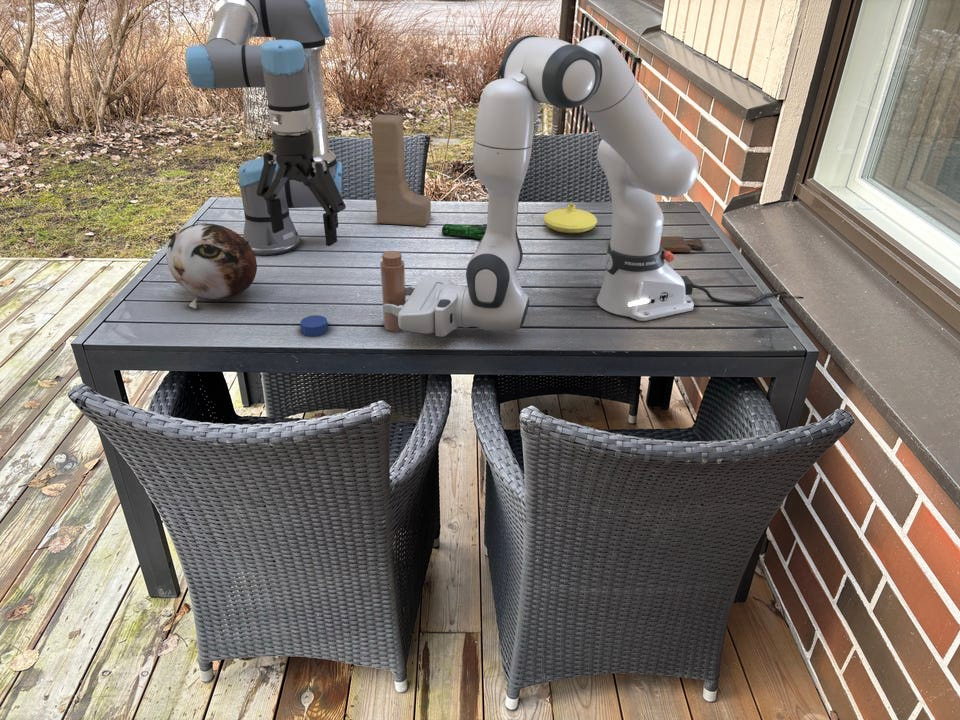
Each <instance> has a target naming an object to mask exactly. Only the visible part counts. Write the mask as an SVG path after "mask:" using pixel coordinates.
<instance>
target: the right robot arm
mask: <svg viewBox="0 0 960 720" xmlns="http://www.w3.org/2000/svg"><path fill="white" fill-rule="evenodd" d="M496 76H497V77H496V78H497V79H494V80H493V81H490V82H489V83H487V84H486V85H485V86H484V88H483V90H482V92H481V95H480V99H479V103H478V106H477V107H478V108H477V111H476V116H475V117H476V118H475V123H474V131H473V132H474V133H473V140H472V141H473V142H472V162H473V171H474V176H475V177H476V179H477V180H478V181H479V183H481V184H482V185H483V186H484V187H485V188H486V190H487V194H488V195H487V197H488V199H487V218H486V224H487V229H486V232H485V234H484V236H483V237H482V239H481V240H479V243H478V244H477V247H476V249H475V251H474V252H473V254H472V256H471V258H470V259H469V261H468V262H467V266H466V270H465V279H466V285H460V284H458V283H455V282H453V281H452V280H451V279H448V278H443V277H437V276H431V275H427V276H422V277H421V278H420V280H419V281H418V283H417V285H416V284H415V285H412V284H411V285H408V286H407V285H406V286H405V291H406V297H407V296H409V297H408V298H407V299H406V303H405V304H404V305H399V306H396V305H394V304H393V302H386V303H385V304H384V306H383V305H382V309H383V308H384V312H387V313H392V314H394V315H396V316H398V326H399V328H401V329H402V330H401V331H405V332H410V333H416V334H425V335H427V334H428V335H429V334H434V335H435V336H437V337H445V336H448V334H449V333H451V332H453V331H455V330H456V329H459V328H466V329H467V328H479V329H481V330H483V331H493V332H513V331H518V330H520V329H521V328H522V327H523V325H524V323H525V321H526V317H527V314H528V311H529V307H530V297H529V295H528V294H527V293H526V292H525V291H524V289H523V287H522V285H521V284H520V281H519V278H518V276H517V271H518V269H520V266H521V265H522V262H523V256H524V255H523V248H522V244H521V241H520V238H519V236H518V232H517V231H518V229H517V226H518V216H519V215H518V214H519V202H520V193H521V189H522V187H523V184H524V183H525V179H526V177H527V173H528V169H529V166H530V161H531V156H532V150H533V140H534V127H535V126H534V124H535V121H536V118H537V115H538V114H539V111H540V110H541V108H542V107H543V104H547V105H550V106H553V107H556V108H558V109H574V108H579V107H580V106H582V107H583V108H582V109H583V110H584V112H585V113H586V115H587V116H588V118H589V120H590V122H591V124H592V125H593V127H594V129H595V130H596V132H597V133H598V135H599V137H600V139H601V140H600V142H599V144H598V147H597V162H598V164H599V166H600V168H601V169H602V171H603V173H604V175H605V178H606V181H607V185H608V189H609V194H610V200H611V206H612V207H611V208H612V219H611V230H610V237H611V240H610V239H609V243H608V244H607V249H606V256H605V273H604V277H603V281H602V285H601V286H600V290H599V292H598V295H597V297H596V304H597V305H598V306H599V307H600V308H601V309H603V310H605V311H606V312H608V313H611V314H614V315H617V316H618V315H619V316H621V317H629V318H631V319H634V320H637V321H639V322H646V321H650V320H655V319H659V318H665V317H669V316H673V315H679V314H682V313H683V314H684V313H687V312H692V311H693V310H694V305H695V303H694V300H693V299H692V297H691V295H693V289H698V290H700V291H702V292H704V293H705V294H706V296H707V297H708V299H710V300H712V301H715V302H717V303H723V304H727V305H750V304H755V303H757V302H759V301H761V300H763V299H764V298H767V297H773V296H774V297H775V296H780V295H788V294H787V293H786V292H785V291H786V290H780V291H776V292H775V291H774V292H767V293H764V294H761V295H760V296H759V297H757V298H754V299H751V300H724V299H721V298H717V297H715V296H713V295H712V294H711V293H710V291H709V290H708V289H707V288H705V287H703V286H701V285H698V284H695V283H694V282H693V281H692V280H691V279H690V278H689V277H688V276H687V275H680V274H679V273H678V272H677V271H676V270H674V269H673V268H672V267H671V266H670V265H669V264H667V263H672V262H673V261H674V260H675V254H673V253H672V251H666V250H665V249H664V248H662V247H660V241H661V236H663V235H662V234H663V228H664V221H665V219H664V213H663V210H662V208H661V207H660V205H659V203H658V201H657V199H656V196H660V197H665V198H666V197H667V198H679V197H681V196H684V195H686V194H687V193H688V192H689V191H690V189H691V188H693V186H694V184H695V182H696V181H697V178H698V174H699V160H698V158H697V156H696V155H695V153H693V152H692V151H691V150H690V149H689V148H687V147H686V146H685V145H684V144H683V143H681V142H680V140H679V139H677V137H676V136H675V135H674V134H673V133H672V131H671V130H670V129H669V128H668V126H667V125H666V124H665V123H664V122H663V120H662V119H661V118H660V117H659V116H658V115H657V113H656V112H655V111H654V110H653V108H652V107H651V105H650V104H649V102H648V100H647V99H646V97H645V95H644V92H643V90H642V89H641V86H640V85H639V83H638V80H637V79H636V77H635V75H634V73H633V71H632V69H631V67H630V66H629V64H628V63H627V61H626V59H625V57H624V56H623V54H622V53H621V52H620V51H619V49H618V48H617V47H616V46H615V44H614V43H613V42H612V41H611V40H610V39H609V38H607V37H605V36H603V35H592V36H587V37H586V38H584V39H582V40H580V41H579V42H578V43H576V44H573V43H570V42H568V41H565V40H562V39H560V38H556V37H546V36H540V35H535V34H530V35H529V34H528V35H523V36H520V37H516V39H514V40H513V41H512V42H510V44H509V45H508V46H507V48H506V49H505V52H504V54H503V56H502V59H501V62H500V67H499V69H498V70H497V75H496ZM665 261H666V262H667V263H666V262H665Z"/></svg>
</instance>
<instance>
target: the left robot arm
mask: <svg viewBox="0 0 960 720" xmlns="http://www.w3.org/2000/svg"><path fill="white" fill-rule="evenodd" d="M212 20H213V24H212V25H211V26H212V27H211V29H210V32H209V33H208V37H207V39H206V41H205V44H202V43H201V44H197V45H189V46H187V48H186V49H185V53H184V54H185V56H184V57H185V67H186V71H187V77H188V79H189V82H190V84H191V85H192V86H193V87H195V88H197V89H210V90H215V89H243V88H245V89H246V88H258V89H259V88H265V93H266V100H267V108H268V116H269V123H270V124H269V125H270V129H271V131H273V132H272V134H271V139H272V140H271V141H272V148H273V149H272V150H269V151H267V152H265V153H263V156H262V157H257V158H254V159H251V160H247V161H246V162H244V163H242V164H241V165H240V166H239V168H238V170H237V174H238V186H239V190H240V196H241V201H242V208H243V212H244V213H243V215H244V219H245V220H244V226H243V228H244V229H243V235H242V237H243V238H244V239H245V240H246V241H249V242H248V244H249V245H250V247H251V248H252V250H253V252H254V254H255V256H256V255H257V256H275V255H281V254H282V255H283V254H285V253H289V252H291V251H293V250H296V249H297V248H298V247H299V246H300V244H301V241H300V235H299V233H298V231H297V229H296V227H295V225H294V223H293V220H292V218H291V216H290V209H305V208H306V209H308V208H309V209H311V208H314V209H315V208H322V209H323V210H324V212H325V213H322V219H323V231H324V239H325V247H326V246H327V247H330V246H332V245H334V244H335V243H337V242H338V233H337V229H338V228H339V217H338V216H339V214H338V213H341V212H342V211H344V210H346V208H347V205H346V204H345V201H344V199H343V197H342V183H343V182H342V181H343V177H342V176H343V162H341V161H339V160H337V155H336V153H334V152H333V151H332V150H331V149H330V143H329V132H328V131H329V130H328V122H327V121H328V119H327V111H326V101H325V92H324V91H325V90H324V80H323V70H322V58H321V52H322V50H323V49H324V48H325V47H326V46H327V44H326V39H329V38H330V37H331V35H332V33H331V26H330V20H329V15H328V9H327V6H326V1H325V0H217V1H216V3H215V5H214V7H213V11H212ZM252 38H274V39H271V40H268V41H267V40H266V41H264V42H262V43H261V44H249V42H250V40H251V39H252ZM177 233H178V232H174V233H172V234H171V235H169V236H168V238H167V239H168V240H171V239H172V238H173V237H174V235H176V234H177Z"/></svg>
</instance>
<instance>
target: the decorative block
mask: <svg viewBox="0 0 960 720" xmlns="http://www.w3.org/2000/svg"><path fill="white" fill-rule="evenodd" d="M370 122H371V123H370V125H371V141H372V157H373V160H372V161H373V175H374V176H373V177H374V189H375V206H376V222H377V224H384V225H385V224H387V225H401V226H417V227H418V226H419V227H426V226H427V225H428V224H429V222H430V220H431V217H432V207H431V206H432V205H431V201H432V200H431V197H430V196H428V195H423V194H418V193H415V192H414V191H412V190H411V189H410V187H409V185H408V182H407V180H406V168H405V167H406V166H405V143H404V141H405V139H404V118H403V116H402V115H396V114H395V115H394V114H376V116H375V117H373V118H372V119H371V121H370Z"/></svg>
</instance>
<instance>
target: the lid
mask: <svg viewBox="0 0 960 720" xmlns="http://www.w3.org/2000/svg"><path fill="white" fill-rule="evenodd" d="M299 325H300V330H301V331H300V332H301V333H302V334H303V335H305V336H308V337H318V336H322V335H324V334H326V333H328V332H329V331H328V330H329V322H328V319H327V317H325V316H323V315H320V314H319V315H318V314H315V315H314V314H313V315H308V316H305V317H304V318H302V319H301V320H300V324H299Z"/></svg>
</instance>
